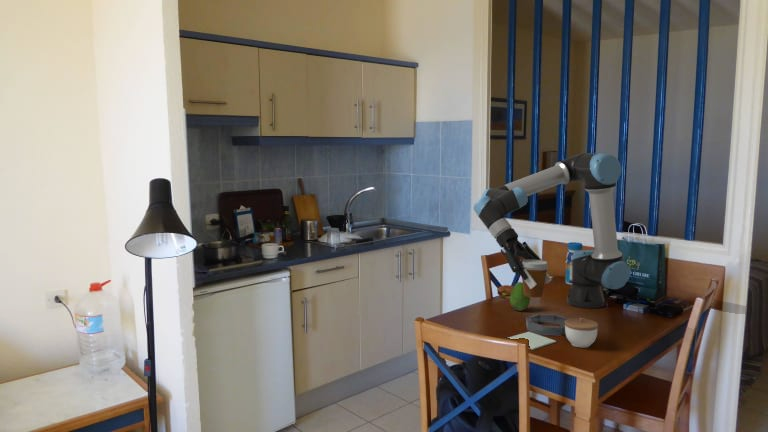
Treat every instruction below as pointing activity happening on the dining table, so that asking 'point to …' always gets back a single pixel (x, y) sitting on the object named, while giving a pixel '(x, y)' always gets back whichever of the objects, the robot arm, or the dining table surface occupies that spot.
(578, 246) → the beverage bottle
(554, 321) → the grey shallow tray
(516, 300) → the avocado
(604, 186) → the robot arm
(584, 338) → the lidded jar
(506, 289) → the burger
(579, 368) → the dining table surface
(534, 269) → the disposable coffee cup
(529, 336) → the sage mat
